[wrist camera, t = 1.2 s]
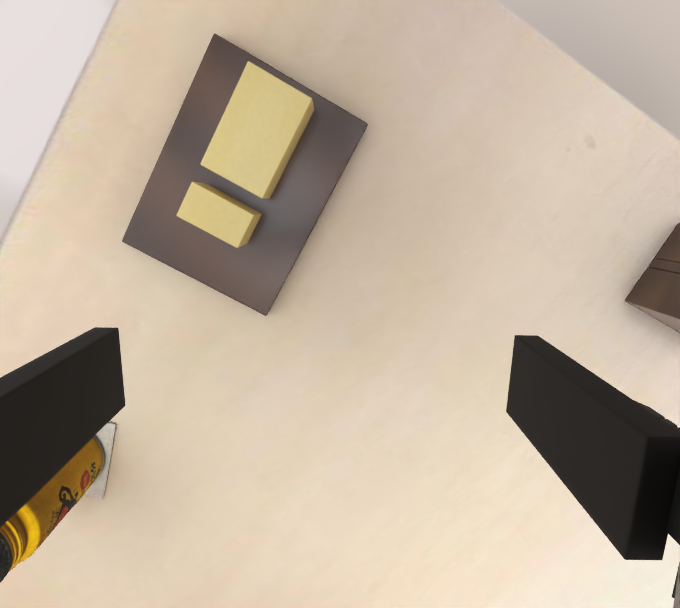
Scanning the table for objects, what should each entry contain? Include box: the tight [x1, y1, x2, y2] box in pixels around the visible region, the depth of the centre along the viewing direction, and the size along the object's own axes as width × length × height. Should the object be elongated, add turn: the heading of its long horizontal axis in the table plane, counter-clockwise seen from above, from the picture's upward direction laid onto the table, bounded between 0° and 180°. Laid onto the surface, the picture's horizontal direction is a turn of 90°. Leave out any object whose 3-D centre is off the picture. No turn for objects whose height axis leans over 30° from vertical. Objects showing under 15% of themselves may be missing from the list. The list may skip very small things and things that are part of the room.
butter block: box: [200, 61, 314, 199], centre depth 31 cm, size 7×4×4 cm, turn 151°
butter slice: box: [176, 182, 262, 248], centre depth 32 cm, size 2×4×4 cm, turn 61°
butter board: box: [122, 34, 368, 316], centre depth 33 cm, size 16×12×1 cm
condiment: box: [0, 423, 116, 582], centre depth 33 cm, size 7×8×12 cm
